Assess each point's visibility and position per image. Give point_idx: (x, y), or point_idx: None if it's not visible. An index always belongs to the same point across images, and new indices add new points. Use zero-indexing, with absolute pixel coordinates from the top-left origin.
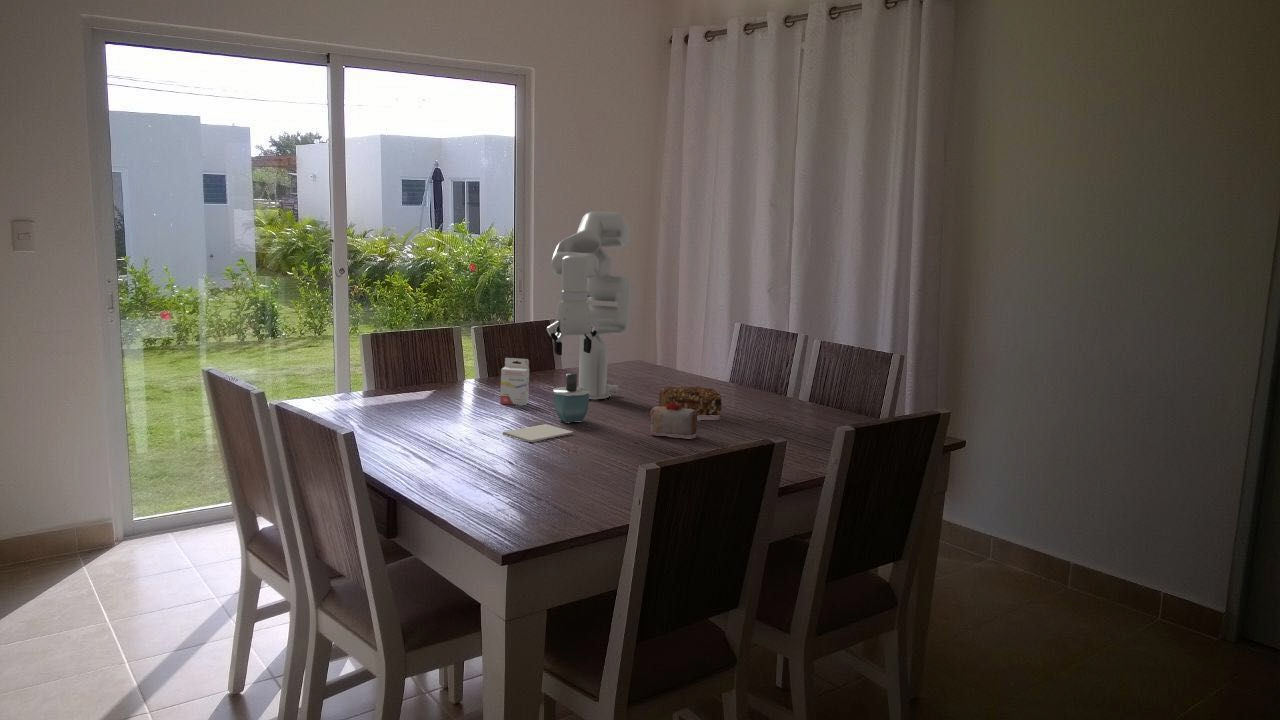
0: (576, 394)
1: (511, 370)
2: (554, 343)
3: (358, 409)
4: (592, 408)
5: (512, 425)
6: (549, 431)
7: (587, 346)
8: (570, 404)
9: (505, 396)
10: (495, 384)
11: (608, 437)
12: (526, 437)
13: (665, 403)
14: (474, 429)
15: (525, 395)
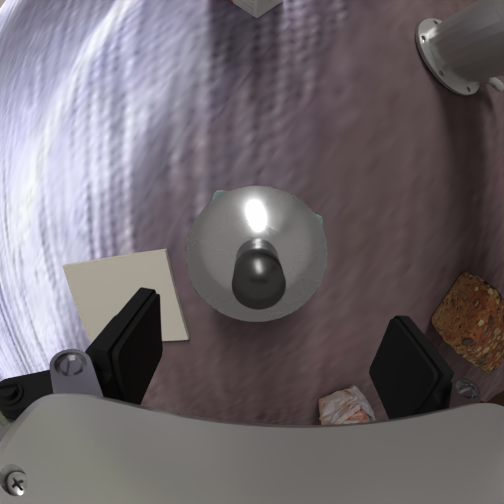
0: (235, 317)
1: None
2: (87, 351)
3: (8, 16)
4: (398, 136)
5: (106, 198)
6: None
7: (387, 390)
8: None
9: None
10: None
11: (242, 380)
12: (88, 323)
13: (445, 341)
14: (39, 198)
15: (257, 4)
